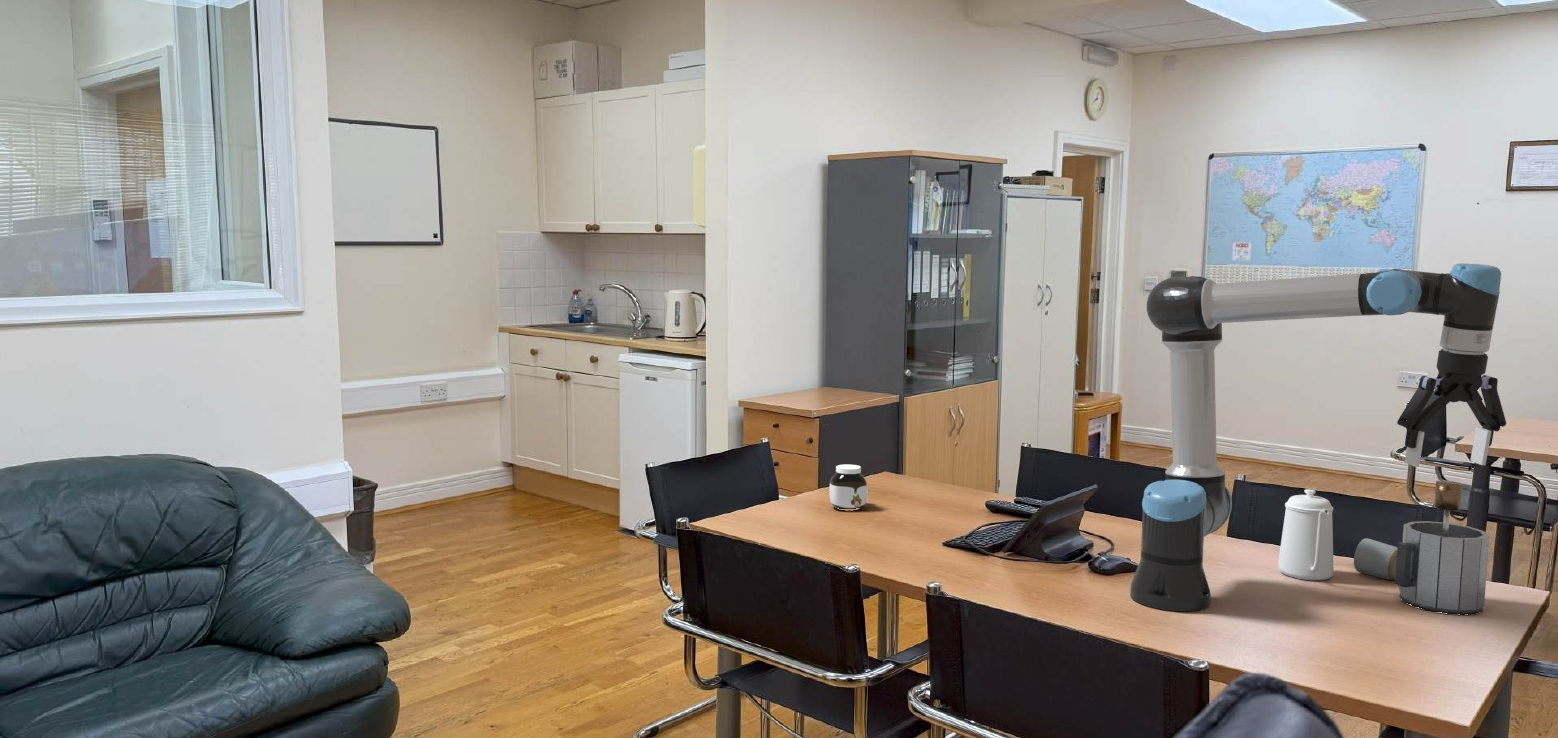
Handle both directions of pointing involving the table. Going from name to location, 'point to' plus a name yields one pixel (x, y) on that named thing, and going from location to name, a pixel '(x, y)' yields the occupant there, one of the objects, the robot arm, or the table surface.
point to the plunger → (1447, 500)
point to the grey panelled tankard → (1442, 567)
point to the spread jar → (848, 487)
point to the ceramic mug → (1376, 559)
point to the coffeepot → (1307, 538)
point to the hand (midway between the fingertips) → (1444, 464)
